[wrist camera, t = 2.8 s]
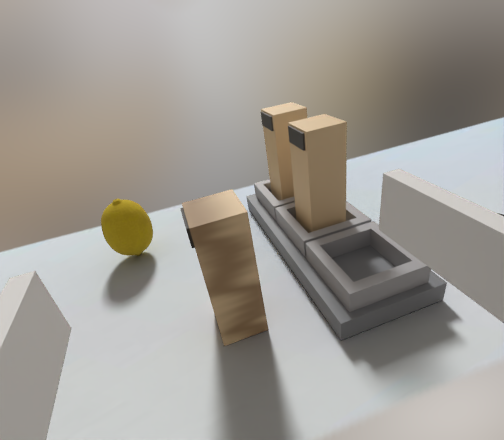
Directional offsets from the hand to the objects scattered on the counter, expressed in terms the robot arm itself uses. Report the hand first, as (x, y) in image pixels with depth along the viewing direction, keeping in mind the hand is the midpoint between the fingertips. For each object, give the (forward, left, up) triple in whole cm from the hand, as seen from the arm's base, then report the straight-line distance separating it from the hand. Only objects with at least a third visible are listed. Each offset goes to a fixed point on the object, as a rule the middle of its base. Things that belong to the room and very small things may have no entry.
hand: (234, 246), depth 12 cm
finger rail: (-13, -17, -16) cm, 27 cm away
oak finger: (-1, -10, -16) cm, 19 cm away
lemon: (+8, -26, -16) cm, 32 cm away
